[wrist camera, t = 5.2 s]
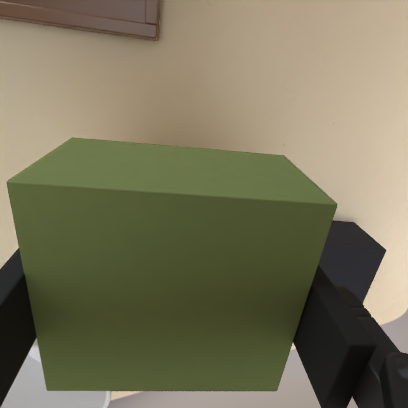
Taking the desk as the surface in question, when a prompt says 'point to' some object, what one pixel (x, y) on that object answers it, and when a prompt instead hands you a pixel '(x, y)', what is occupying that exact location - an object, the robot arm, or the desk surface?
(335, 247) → the black block
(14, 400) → the food container
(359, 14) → the desk surface
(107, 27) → the brown wooden tray
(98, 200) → the olive green block
